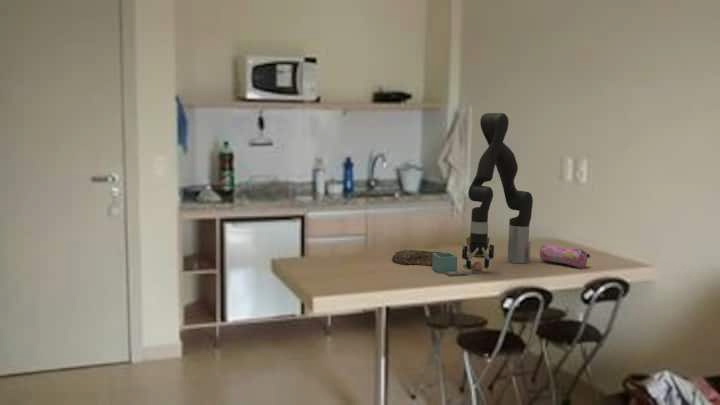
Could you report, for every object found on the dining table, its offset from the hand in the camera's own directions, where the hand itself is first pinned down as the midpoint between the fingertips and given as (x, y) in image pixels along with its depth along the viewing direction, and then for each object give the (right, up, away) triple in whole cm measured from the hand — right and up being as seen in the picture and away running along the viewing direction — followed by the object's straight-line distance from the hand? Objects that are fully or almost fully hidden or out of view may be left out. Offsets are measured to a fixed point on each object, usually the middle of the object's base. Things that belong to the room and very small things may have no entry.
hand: (477, 268), depth 318 cm
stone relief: (-21, +1, +23) cm, 31 cm away
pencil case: (+43, 0, +19) cm, 47 cm away
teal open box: (-14, -1, +2) cm, 14 cm away
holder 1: (-2, 0, +9) cm, 9 cm away
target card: (-10, -2, -4) cm, 11 cm away
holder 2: (0, -2, 0) cm, 2 cm away
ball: (0, +1, 0) cm, 1 cm away
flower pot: (+6, +3, +35) cm, 36 cm away
